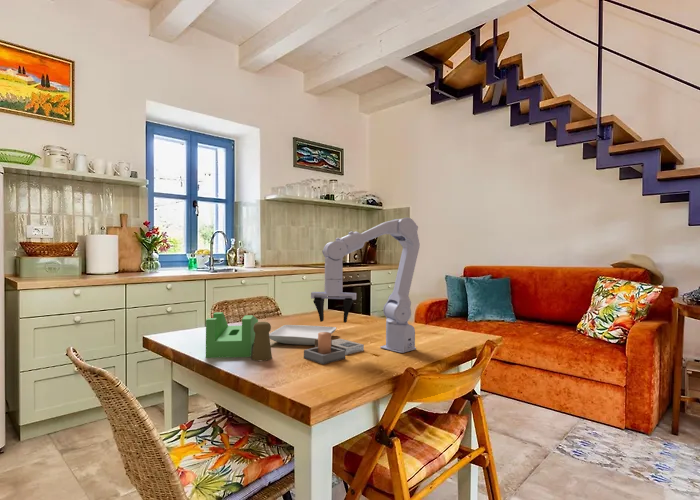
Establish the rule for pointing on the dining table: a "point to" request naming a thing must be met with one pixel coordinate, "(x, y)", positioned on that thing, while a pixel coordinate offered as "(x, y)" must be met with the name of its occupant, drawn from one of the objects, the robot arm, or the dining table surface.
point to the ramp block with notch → (229, 337)
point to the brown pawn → (261, 342)
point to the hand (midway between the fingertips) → (333, 321)
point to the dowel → (324, 343)
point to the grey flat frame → (347, 346)
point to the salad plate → (299, 334)
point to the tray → (326, 358)
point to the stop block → (317, 343)
